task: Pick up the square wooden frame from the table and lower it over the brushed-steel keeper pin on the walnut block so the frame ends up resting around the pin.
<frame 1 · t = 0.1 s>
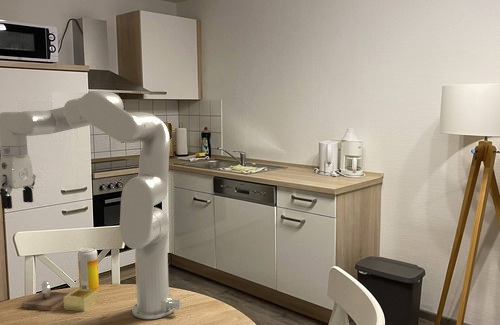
hand: (18, 205, 150), 31 cm above the table, tool pointing down, fingers open, 9 cm apart
beer can: (89, 293, 158), on the table
keeper block: (47, 302, 151), on the table
square wooden frame: (80, 305, 148), on the table
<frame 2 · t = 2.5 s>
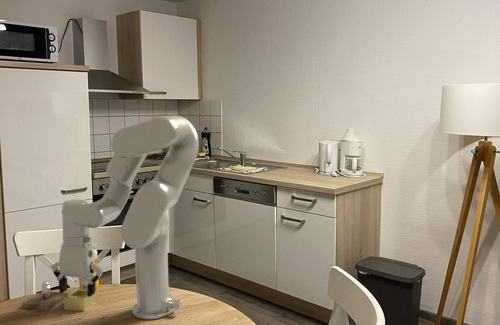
hand: (77, 293, 148), 4 cm above the table, tool pointing down, fingers open, 9 cm apart
square wooden frame: (80, 305, 148), on the table, touching gripper
everything else where it was.
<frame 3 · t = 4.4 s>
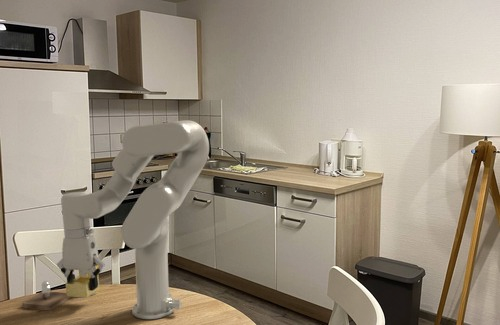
hand: (83, 288, 147), 6 cm above the table, tool pointing down, fingers closed on square wooden frame, 7 cm apart
square wooden frame: (83, 292, 147), point 4 cm above the table, touching gripper
everything else where it was.
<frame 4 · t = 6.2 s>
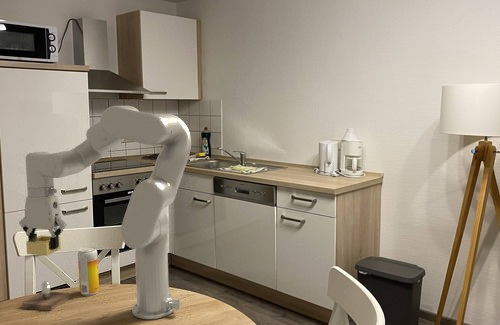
hand: (43, 247, 149), 18 cm above the table, tool pointing down, fingers closed on square wooden frame, 7 cm apart
square wooden frame: (44, 251, 149), point 17 cm above the table, touching gripper
everything else where it was.
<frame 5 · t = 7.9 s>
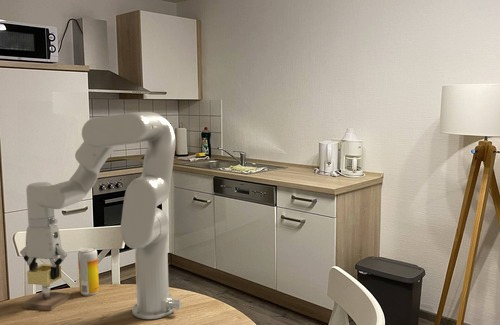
hand: (44, 276, 150), 9 cm above the table, tool pointing down, fingers closed on square wooden frame, 7 cm apart
square wooden frame: (44, 280, 150), point 7 cm above the table, touching gripper
everything else where it was.
when the fingers open (6 cm above the table, at t = 9.1 s): square wooden frame drops 3 cm, resting on keeper block.
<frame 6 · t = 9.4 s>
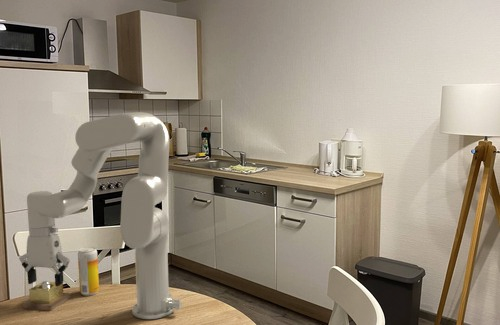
hand: (45, 283, 150), 6 cm above the table, tool pointing down, fingers open, 9 cm apart
square wooden frame: (47, 298, 151), point 1 cm above the table, touching keeper block
everything else where it was.
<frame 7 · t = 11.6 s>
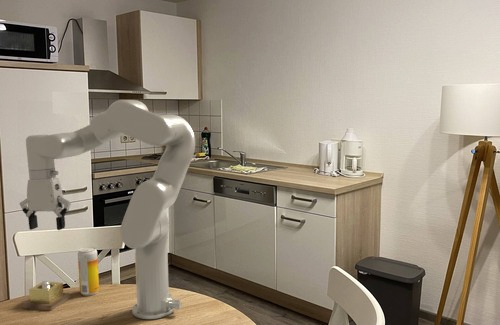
hand: (47, 228, 148), 24 cm above the table, tool pointing down, fingers open, 9 cm apart
nothing on the table moved.
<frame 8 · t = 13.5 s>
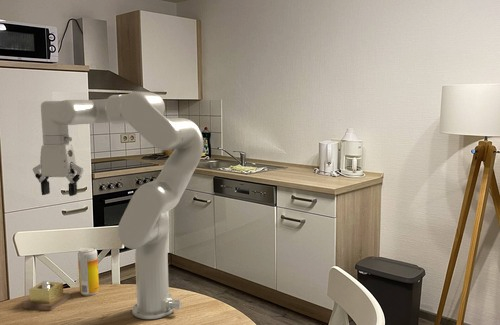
hand: (59, 194, 150), 34 cm above the table, tool pointing down, fingers open, 9 cm apart
nothing on the table moved.
at the end: square wooden frame 0.1 cm off-centre on the keeper block, point 1.5 cm above the keeper block's base; square wooden frame tilted 0°; the gripper is holding nothing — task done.
